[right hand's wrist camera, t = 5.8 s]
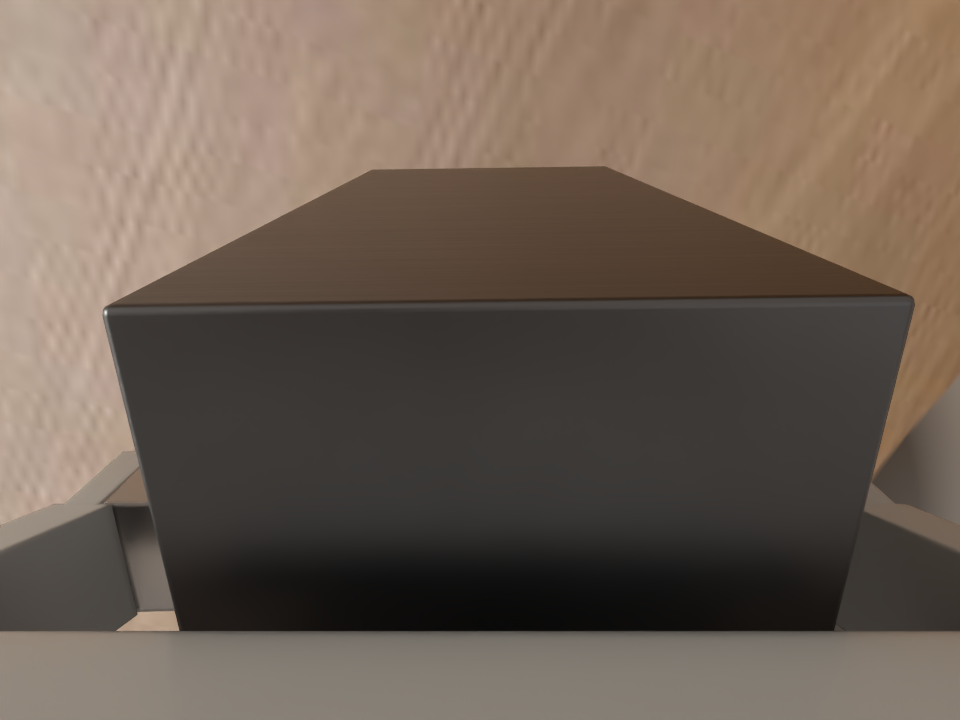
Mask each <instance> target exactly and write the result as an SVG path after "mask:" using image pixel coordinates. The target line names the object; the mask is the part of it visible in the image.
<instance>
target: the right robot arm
mask: <svg viewBox="0 0 960 720" xmlns="http://www.w3.org/2000/svg"><path fill="white" fill-rule="evenodd" d="M148 611H175V610H174V606H173V602H172V597H171V593H170V589H169V585H168V581H167V577H166V573H165V569H164V565H163V561H162V557H161V552H160V548H159V544H158V540H157V536H156V532H155V528H154V524H153V520H152V516H151V512H150V507H149V503H148V499H147V495H146V491H145V487H144V483H143V479H142V475H141V471H140V467H139V463H138V458H137V454H136V451H125V452H122V453H121V454H120V455H119V456H118V457H117V458H115V459H114V460H113V461H112V462H111V463H110V464H109V465H108V466H107V467H105V468H104V469H103V470H102V471H101V472H100V473H99V474H98V475H96V476H95V477H94V478H93V479H92V480H91V481H90V482H89V483H88V484H86V485H85V486H84V487H83V488H82V489H81V490H80V491H79V492H77V493H76V494H75V495H74V496H73V497H72V498H71V499H70V500H69V501H67V502H66V503H65V504H53V505H50V506H48V507H45V508H43V509H40V510H38V511H35V512H33V513H30V514H28V515H25V516H23V517H20V518H18V519H15V520H13V521H10V522H8V523H5V524H3V525H0V720H960V525H957V524H955V523H952V522H950V521H947V520H945V519H942V518H940V517H937V516H935V515H932V514H930V513H927V512H925V511H922V510H920V509H917V508H915V507H912V506H910V505H907V504H895V503H894V502H892V500H890V499H889V498H888V497H887V496H886V495H885V494H884V493H883V492H881V491H880V490H879V489H878V488H877V487H876V486H875V485H874V484H873V483H870V487H869V491H868V495H867V500H866V504H865V508H864V512H863V516H862V520H861V524H860V528H859V532H858V536H857V540H856V544H855V548H854V552H853V556H852V560H851V564H850V568H849V572H848V576H847V580H846V584H845V588H844V592H843V596H842V600H841V604H840V608H839V612H838V616H837V620H836V625H837V626H839V627H840V628H842V629H843V630H844V631H116V630H117V629H119V628H120V627H121V626H123V625H124V624H125V623H127V622H128V621H129V620H131V619H132V618H134V617H135V616H136V615H137V612H148Z"/></svg>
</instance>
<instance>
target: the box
mask: <svg viewBox="0 0 960 720" xmlns="http://www.w3.org/2000/svg"><path fill="white" fill-rule="evenodd" d="M914 306H915V304H914V299H913V297H912V296H910V295H908V294H905V293H903V292H901V291H898V290H896V289H893V288H891V287H889V286H886V285H884V284H882V283H879V282H877V281H875V280H872V279H870V278H867V277H865V276H863V275H860V274H858V273H856V272H853V271H851V270H849V269H846V268H844V267H842V266H839V265H837V264H834V263H832V262H830V261H827V260H825V259H823V258H820V257H818V256H816V255H813V254H811V253H808V252H806V251H804V250H801V249H799V248H797V247H794V246H792V245H790V244H787V243H785V242H782V241H780V240H778V239H775V238H773V237H771V236H768V235H766V234H764V233H761V232H759V231H756V230H754V229H752V228H749V227H747V226H745V225H742V224H740V223H738V222H735V221H733V220H731V219H728V218H726V217H723V216H721V215H719V214H716V213H714V212H712V211H709V210H707V209H705V208H702V207H700V206H697V205H695V204H693V203H690V202H688V201H686V200H683V199H681V198H679V197H676V196H674V195H671V194H669V193H667V192H664V191H662V190H660V189H657V188H655V187H653V186H650V185H648V184H645V183H643V182H641V181H638V180H636V179H634V178H631V177H629V176H627V175H624V174H622V173H619V172H617V171H615V170H612V169H610V168H608V167H605V166H601V167H533V168H464V169H395V170H371V171H369V172H367V173H365V174H363V175H361V176H359V177H357V178H355V179H353V180H351V181H349V182H347V183H345V184H343V185H342V186H340V187H338V188H336V189H334V190H332V191H330V192H328V193H326V194H324V195H322V196H320V197H318V198H316V199H314V200H312V201H310V202H308V203H306V204H305V205H303V206H301V207H299V208H297V209H295V210H293V211H291V212H289V213H287V214H285V215H283V216H281V217H279V218H277V219H275V220H273V221H271V222H269V223H267V224H266V225H264V226H262V227H260V228H258V229H256V230H254V231H252V232H250V233H248V234H246V235H244V236H242V237H240V238H238V239H236V240H234V241H232V242H230V243H229V244H227V245H225V246H223V247H221V248H219V249H217V250H215V251H213V252H211V253H209V254H207V255H205V256H203V257H201V258H199V259H197V260H195V261H193V262H192V263H190V264H188V265H186V266H184V267H182V268H180V269H178V270H176V271H174V272H172V273H170V274H168V275H166V276H164V277H162V278H160V279H158V280H156V281H154V282H153V283H151V284H149V285H147V286H145V287H143V288H141V289H139V290H137V291H135V292H133V293H131V294H129V295H127V296H125V297H123V298H121V299H119V300H117V301H116V302H114V303H112V304H110V305H108V306H106V307H105V308H104V310H103V319H104V324H105V328H106V332H107V336H108V340H109V344H110V348H111V352H112V356H113V360H114V364H115V368H116V373H117V377H118V381H119V385H120V389H121V393H122V397H123V401H124V405H125V409H126V413H127V418H128V422H129V426H130V430H131V434H132V438H133V442H134V446H135V450H136V454H137V458H138V463H139V467H140V471H141V475H142V479H143V483H144V487H145V491H146V495H147V499H148V503H149V507H150V512H151V516H152V520H153V524H154V528H155V532H156V536H157V540H158V544H159V548H160V552H161V557H162V561H163V565H164V569H165V573H166V577H167V581H168V585H169V589H170V593H171V597H172V602H173V606H174V610H175V614H176V618H177V622H178V626H179V630H180V631H834V628H835V624H836V620H837V616H838V612H839V608H840V604H841V600H842V596H843V592H844V588H845V584H846V580H847V576H848V572H849V568H850V564H851V560H852V556H853V552H854V548H855V544H856V540H857V536H858V532H859V528H860V524H861V520H862V516H863V512H864V508H865V504H866V500H867V495H868V491H869V487H870V483H871V479H872V475H873V471H874V467H875V463H876V459H877V455H878V451H879V447H880V443H881V439H882V435H883V431H884V427H885V423H886V419H887V415H888V411H889V407H890V403H891V399H892V395H893V391H894V387H895V383H896V379H897V375H898V371H899V367H900V363H901V359H902V355H903V351H904V347H905V343H906V339H907V335H908V331H909V326H910V322H911V318H912V314H913V310H914Z"/></svg>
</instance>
